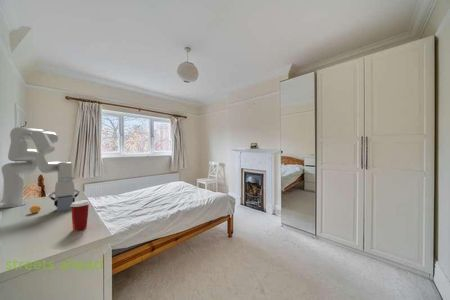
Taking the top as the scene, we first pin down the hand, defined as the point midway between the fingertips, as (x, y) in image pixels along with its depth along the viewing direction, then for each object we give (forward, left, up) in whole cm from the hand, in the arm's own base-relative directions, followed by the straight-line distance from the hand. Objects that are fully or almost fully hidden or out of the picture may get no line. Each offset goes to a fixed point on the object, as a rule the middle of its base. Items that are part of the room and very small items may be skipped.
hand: (64, 204), depth 123 cm
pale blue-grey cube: (0, 0, -3) cm, 3 cm away
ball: (-4, -14, -1) cm, 15 cm away
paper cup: (+47, +2, -3) cm, 47 cm away
